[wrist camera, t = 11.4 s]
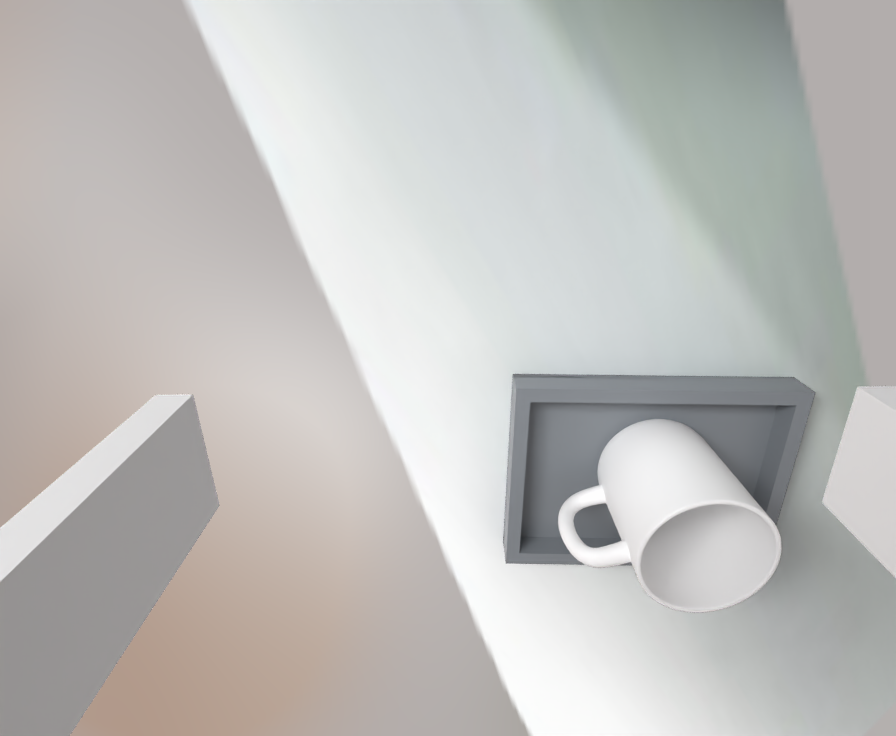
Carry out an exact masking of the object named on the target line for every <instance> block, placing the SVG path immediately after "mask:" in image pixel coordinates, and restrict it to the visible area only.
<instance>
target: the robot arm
mask: <svg viewBox="0 0 896 736" xmlns="http://www.w3.org/2000/svg"><path fill="white" fill-rule="evenodd" d="M822 503H823V504H824V505H825V506H826V507H827V508H828V509H829V510H830V511H831V512H832V513H833V514H834V515H835V517H836V518H837V519H838V520H839V521H840V522H841V523H842V524H843V525H844V526H845V527H846V528H847V529H848V530H849V531H850V532H851V533H852V534H853V535H854V536H855V537H856V538H857V539H858V540H859V541H860V542H861V543H862V544H863V545H864V546H865V547H866V548H867V549H868V550H869V551H870V552H871V553H872V555H873V556H874V557H875V558H876V559H877V560H878V561H879V562H880V563H881V564H882V565H883V566H884V567H885V568H886V569H887V570H888V571H889V572H890V573H891V574H892V575H893V576H894V577H895V578H896V386H873V387H872V386H863V387H857V390H856V393H855V396H854V400H853V403H852V406H851V409H850V413H849V416H848V419H847V422H846V425H845V429H844V432H843V435H842V438H841V442H840V445H839V448H838V451H837V455H836V458H835V461H834V464H833V467H832V471H831V474H830V477H829V480H828V484H827V487H826V490H825V493H824V496H823V500H822ZM218 507H219V501H218V497H217V493H216V489H215V485H214V480H213V476H212V472H211V468H210V464H209V459H208V455H207V451H206V447H205V443H204V438H203V435H202V430H201V426H200V422H199V417H198V413H197V409H196V405H195V401H194V396H193V394H189V395H188V394H186V395H185V394H184V395H183V394H182V395H155V396H154V397H153V398H151V399H150V400H149V401H148V402H147V403H146V404H145V405H143V406H142V407H141V408H140V409H139V410H137V411H136V412H135V413H134V414H133V415H132V416H130V417H129V418H128V419H127V420H126V421H125V422H123V423H122V424H121V425H120V426H119V427H118V428H116V429H115V430H114V431H113V432H112V433H111V434H110V435H108V436H107V437H106V438H105V439H104V440H103V441H101V442H100V443H99V444H98V445H97V446H95V447H94V448H93V449H92V450H91V451H90V452H88V453H87V454H86V455H85V456H84V457H83V458H81V459H80V460H79V461H78V462H77V463H76V464H74V465H73V466H72V467H71V468H70V469H68V470H67V471H66V472H65V473H64V474H63V475H61V476H60V477H59V478H58V479H57V480H56V481H54V483H52V484H51V485H50V486H49V487H48V488H47V489H45V490H44V491H43V492H42V493H40V494H39V495H38V496H37V497H36V498H35V499H33V500H32V501H31V502H30V503H29V504H28V505H26V506H25V507H24V508H23V509H22V510H21V511H19V512H18V513H17V514H16V515H15V516H14V517H12V518H11V519H10V520H9V521H8V522H7V523H5V524H4V525H3V526H2V527H1V528H0V736H70V734H71V733H72V731H73V730H74V728H75V727H76V725H77V724H78V722H79V721H80V719H81V718H82V716H83V714H84V713H85V711H86V710H87V708H88V707H89V705H90V704H91V702H92V701H93V699H94V698H95V696H96V695H97V693H98V691H99V690H100V688H101V687H102V685H103V684H104V682H105V680H106V679H107V678H108V676H109V674H110V673H111V671H112V670H113V668H114V667H115V665H116V664H117V662H118V660H119V659H120V658H121V656H122V655H123V653H124V651H125V650H126V648H127V647H128V645H129V644H130V642H131V641H132V639H133V637H134V636H135V634H136V633H137V631H138V630H139V628H140V627H141V625H142V624H143V622H144V621H145V619H146V618H147V616H148V615H149V613H150V612H151V610H152V608H153V607H154V605H155V604H156V602H157V601H158V599H159V598H160V596H161V595H162V593H163V592H164V590H165V588H166V587H167V585H168V584H169V582H170V581H171V579H172V577H173V576H174V575H175V573H176V572H177V570H178V568H179V567H180V565H181V564H182V562H183V561H184V559H185V558H186V556H187V555H188V553H189V552H190V550H191V549H192V547H193V545H194V544H195V542H196V541H197V539H198V538H199V536H200V535H201V533H202V532H203V530H204V529H205V527H206V525H207V524H208V522H209V521H210V519H211V518H212V516H213V515H214V513H215V511H216V510H217V508H218Z"/></svg>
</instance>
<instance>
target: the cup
mask: <svg viewBox="0 0 896 736" xmlns="http://www.w3.org/2000/svg"><path fill="white" fill-rule="evenodd" d="M597 473H598V482H599V485H598V486H594V487H591V488H587V489H584V490H582V491H579V492H577V493H575V494H573V495H572V496H570V497H569V498H568V499H567V500H566V501H565V502H564V503H563V505H562V507H561V509H560V511H559V515H558V527H559V531H560V535H561V537H562V540H563V542H564V544H565V545H566V547H567V549H568V550H569V552H570V553H571V554H572V555H573V556H574V557H575V558H576V559H577V560H578V561H580V562H582V563H583V564H585V565H588V566H591V567H596V568H605V567H612V566H617V565H621V564H625V563H629V562H631V563H632V566H633V568H634V571H635V573H636V576H637V578H638V580H639V583H640V585H641V586H642V588H643V589H644V591H645V592H646V593H647V594H648V595H649V596H650V597H651V598H652V599H654V600H655V601H657V602H658V603H660V604H662V605H663V606H666V607H668V608H671V609H674V610H678V611H683V612H692V613H702V612H711V611H717V610H721V609H725V608H728V607H731V606H733V605H736V604H738V603H740V602H742V601H744V600H746V599H747V598H749V597H751V596H752V595H754V594H755V593H756V592H757V591H759V590H760V589H761V588H762V587H763V586H764V585H765V584H766V583H767V582H768V581H769V579H770V578H771V577H772V575H773V574H774V572H775V570H776V568H777V566H778V564H779V561H780V557H781V551H782V544H781V537H780V533H779V531H778V529H777V527H776V525H775V523H774V522H773V521H772V520H771V518H770V517H769V516H768V515H767V514H766V512H765V511H764V510H763V509H762V508H761V506H760V505H759V504H758V503H757V502H756V501H755V499H754V498H753V497H752V496H751V495H750V493H749V492H748V491H747V490H746V489H745V487H744V486H743V485H742V484H741V483H740V482H739V480H738V479H737V478H736V477H735V476H734V474H733V473H732V472H731V471H730V470H729V468H728V467H727V466H726V465H725V464H724V463H723V461H722V460H721V459H720V458H719V457H718V455H717V454H716V453H715V452H714V451H713V450H712V448H711V447H710V446H709V445H708V444H707V442H706V441H705V440H704V439H703V438H702V437H701V436H700V435H699V434H698V433H697V432H695V431H694V430H693V429H691V428H690V427H688V426H686V425H684V424H682V423H679V422H676V421H672V420H667V419H650V420H645V421H641V422H637V423H635V424H632V425H630V426H628V427H626V428H624V429H623V430H621V431H620V432H619V433H617V434H616V435H615V436H614V437H613V438H612V439H611V440H610V441H609V442H608V444H607V445H606V446H605V448H604V450H603V452H602V454H601V456H600V459H599V463H598V471H597ZM604 503H606V504H607V506H608V509H609V511H610V514H611V516H612V518H613V521H614V523H615V526H616V528H617V530H618V533H619V535H620V537H621V540H622V541H620V542H617V543H614V544H611V545H607V546H603V547H599V548H592V547H589V546H587V545H586V544H584V543H583V541H582V540H581V539H580V538H579V536H578V535H577V532H576V530H575V527H574V522H573V520H574V516H575V514H576V513H577V512H578V511H579V510H581V509H583V508H586V507H589V506H592V505H597V504H604Z"/></svg>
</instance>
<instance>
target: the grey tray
mask: <svg viewBox="0 0 896 736" xmlns="http://www.w3.org/2000/svg"><path fill="white" fill-rule="evenodd" d="M814 395H815V392H814V391H813V390H811V389H810V388H809V387H807V386H806V385H804V384H803V383H801V382H800V381H798V380H797V379H795V378H794V377H719V376H635V375H551V374H513V379H512V397H511V414H510V432H509V449H508V467H507V484H506V502H505V519H504V537H503V544H504V552H505V561H506V563H517V564H579V565H585V564H583V563H582V562H580V561H578V560H577V559H576V558H575V557H574V556H573V555H572V554H571V553H570V552H569V550H568V549H567V547H566V545H565V544H564V542H563V540H562V537H561V535H560V531H559V527H558V515H559V511H560V509H561V507H562V505H563V503H564V502H565V501H566V500H567V499H568V498H569V497H570V496H572V495H573V494H575V493H577V492H579V491H582V490H584V489H587V488H591V487H594V486H598V485H599V482H598V473H597V471H598V463H599V459H600V456H601V454H602V452H603V450H604V448H605V446H606V445H607V444H608V442H609V441H610V440H611V439H612V438H613V437H614V436H615V435H616V434H617V433H619V432H620V431H621V430H623V429H624V428H626V427H628V426H630V425H632V424H635V423H637V422H641V421H645V420H650V419H667V420H672V421H676V422H679V423H682V424H684V425H686V426H688V427H690V428H691V429H693V430H694V431H695V432H697V433H698V434H699V435H700V436H701V437H702V438H703V439H704V440H705V441H706V442H707V444H708V445H709V446H710V447H711V448H712V450H713V451H714V452H715V453H716V454H717V455H718V457H719V458H720V459H721V460H722V461H723V463H724V464H725V465H726V466H727V467H728V468H729V470H730V471H731V472H732V473H733V474H734V476H735V477H736V478H737V479H738V480H739V482H740V483H741V484H742V485H743V486H744V487H745V489H746V490H747V491H748V492H749V493H750V495H751V496H752V497H753V498H754V499H755V501H756V502H757V503H758V504H759V505H760V506H761V508H762V509H763V510H764V511H765V512H766V514H767V515H768V516H769V517H770V518H771V520H772V521H773V522H774V523H775V525H776V524H777V521H778V517H779V514H780V511H781V507H782V504H783V500H784V497H785V494H786V490H787V487H788V483H789V480H790V477H791V473H792V470H793V467H794V463H795V460H796V456H797V453H798V450H799V446H800V443H801V439H802V436H803V433H804V429H805V426H806V423H807V419H808V416H809V412H810V409H811V406H812V402H813V399H814ZM573 522H574V527H575V530H576V532H577V535H578V536H579V538H580V539H581V540H582V541H583V543H584V544H586V545H587V546H589V547H592V548H599V547H603V546H607V545H611V544H614V543H617V542H620V541H622V540H621V537H620V535H619V533H618V530H617V528H616V526H615V523H614V521H613V518H612V516H611V514H610V511H609V509H608V506H607V504H606V503H604V504H597V505H592V506H589V507H586V508H583V509H581V510H579V511H578V512H577V513H576V514H575V516H574V520H573ZM621 565H632V563H631V562H629V563H625V564H621Z"/></svg>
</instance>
